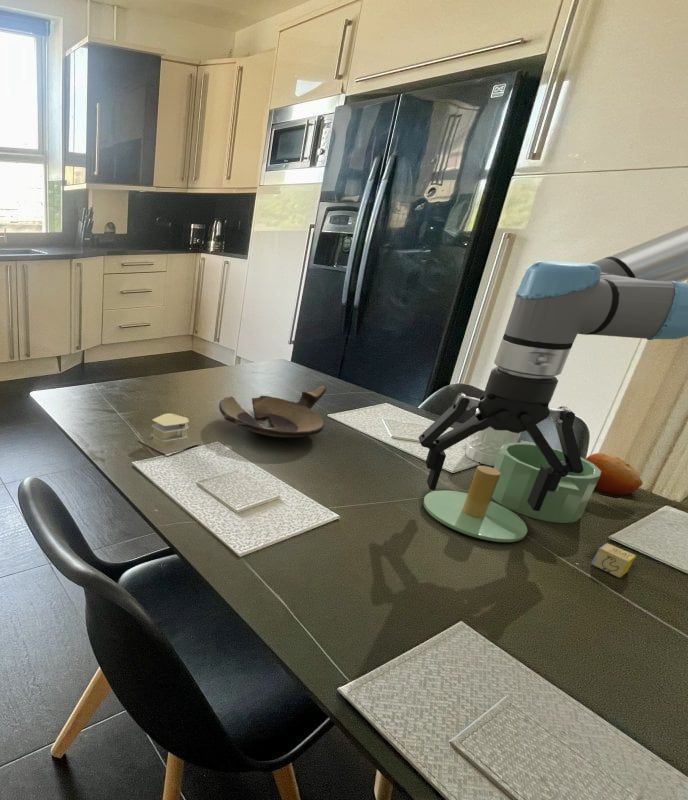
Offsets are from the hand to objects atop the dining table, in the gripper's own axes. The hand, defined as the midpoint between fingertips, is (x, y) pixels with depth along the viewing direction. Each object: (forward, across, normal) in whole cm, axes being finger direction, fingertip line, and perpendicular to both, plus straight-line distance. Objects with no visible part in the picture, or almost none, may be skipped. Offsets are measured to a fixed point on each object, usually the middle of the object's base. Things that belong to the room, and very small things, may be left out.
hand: (480, 496), depth 79 cm
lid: (+4, 0, 0) cm, 4 cm away
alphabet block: (+5, +15, -6) cm, 17 cm away
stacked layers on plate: (+4, -53, +5) cm, 53 cm away
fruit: (+5, +24, +21) cm, 32 cm away
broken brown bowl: (+5, -32, +23) cm, 40 cm away
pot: (+4, +11, +11) cm, 16 cm away
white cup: (+5, +8, +27) cm, 29 cm away
